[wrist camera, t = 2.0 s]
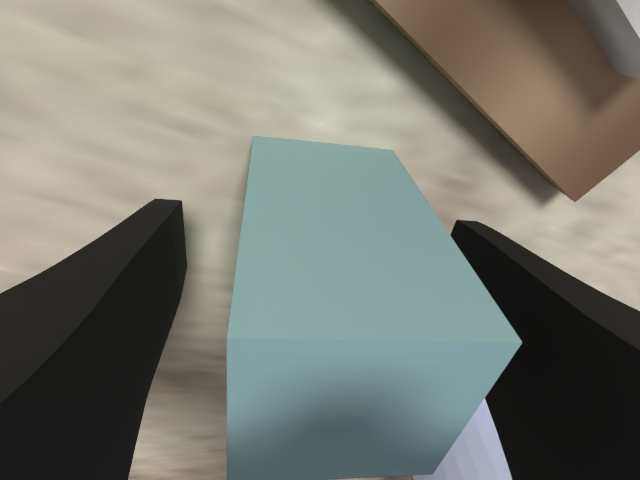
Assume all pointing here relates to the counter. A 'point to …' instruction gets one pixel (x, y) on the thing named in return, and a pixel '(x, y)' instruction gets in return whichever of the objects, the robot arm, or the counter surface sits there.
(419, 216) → the square peg
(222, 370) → the counter surface
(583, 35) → the socket
